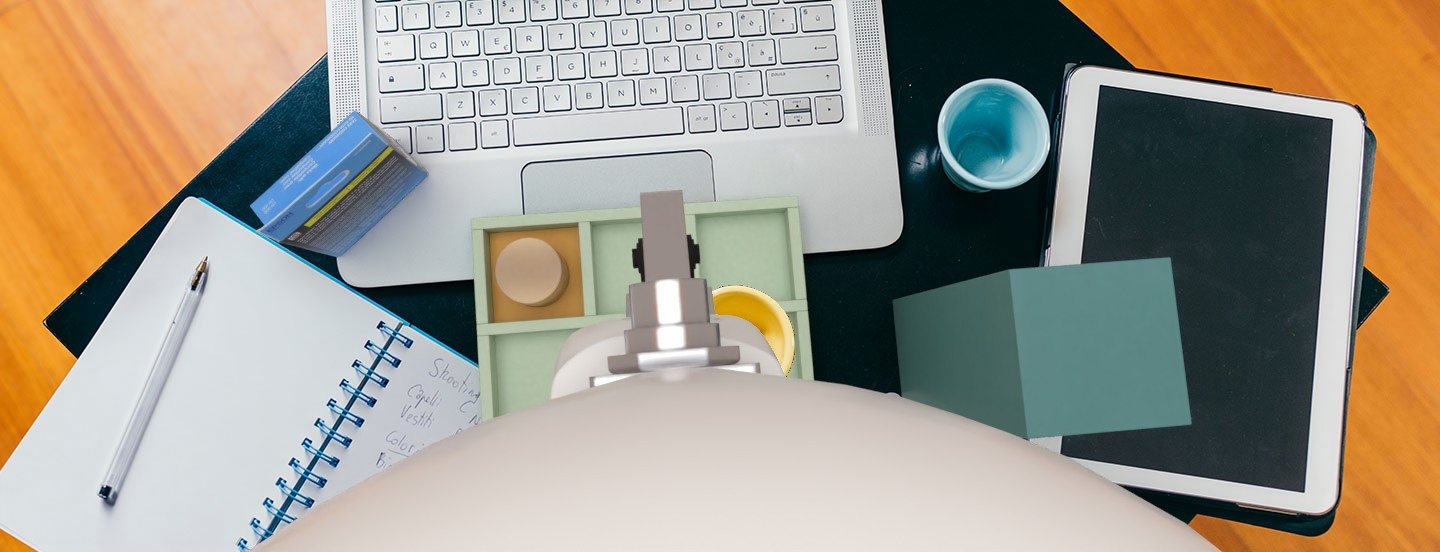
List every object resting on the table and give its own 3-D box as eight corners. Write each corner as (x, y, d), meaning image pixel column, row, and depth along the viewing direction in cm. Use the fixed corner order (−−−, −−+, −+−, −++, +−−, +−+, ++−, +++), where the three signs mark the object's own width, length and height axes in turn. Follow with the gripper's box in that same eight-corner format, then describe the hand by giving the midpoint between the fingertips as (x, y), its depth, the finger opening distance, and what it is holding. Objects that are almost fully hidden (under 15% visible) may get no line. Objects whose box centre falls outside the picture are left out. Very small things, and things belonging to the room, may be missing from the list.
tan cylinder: (571, 305, 61) (564, 301, 57) (508, 309, 60) (496, 306, 56) (567, 243, 61) (559, 235, 57) (504, 247, 61) (492, 239, 57)
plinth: (1011, 401, 63) (1192, 424, 41) (902, 410, 62) (1027, 439, 40) (999, 291, 63) (1170, 257, 41) (892, 299, 63) (1008, 269, 41)
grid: (811, 413, 62) (817, 416, 59) (490, 441, 60) (482, 444, 58) (792, 202, 63) (797, 195, 61) (479, 224, 62) (470, 218, 59)
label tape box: (395, 137, 62) (327, 83, 50) (434, 177, 62) (375, 133, 50) (302, 222, 61) (209, 188, 49) (342, 263, 61) (259, 239, 49)
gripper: (437, 103, 15) (563, 241, 32) (495, 1189, 13) (595, 726, 30) (862, 76, 15) (763, 226, 32) (968, 1122, 14) (806, 703, 31)
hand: (682, 468), depth 31 cm, fingers open, 9 cm apart
